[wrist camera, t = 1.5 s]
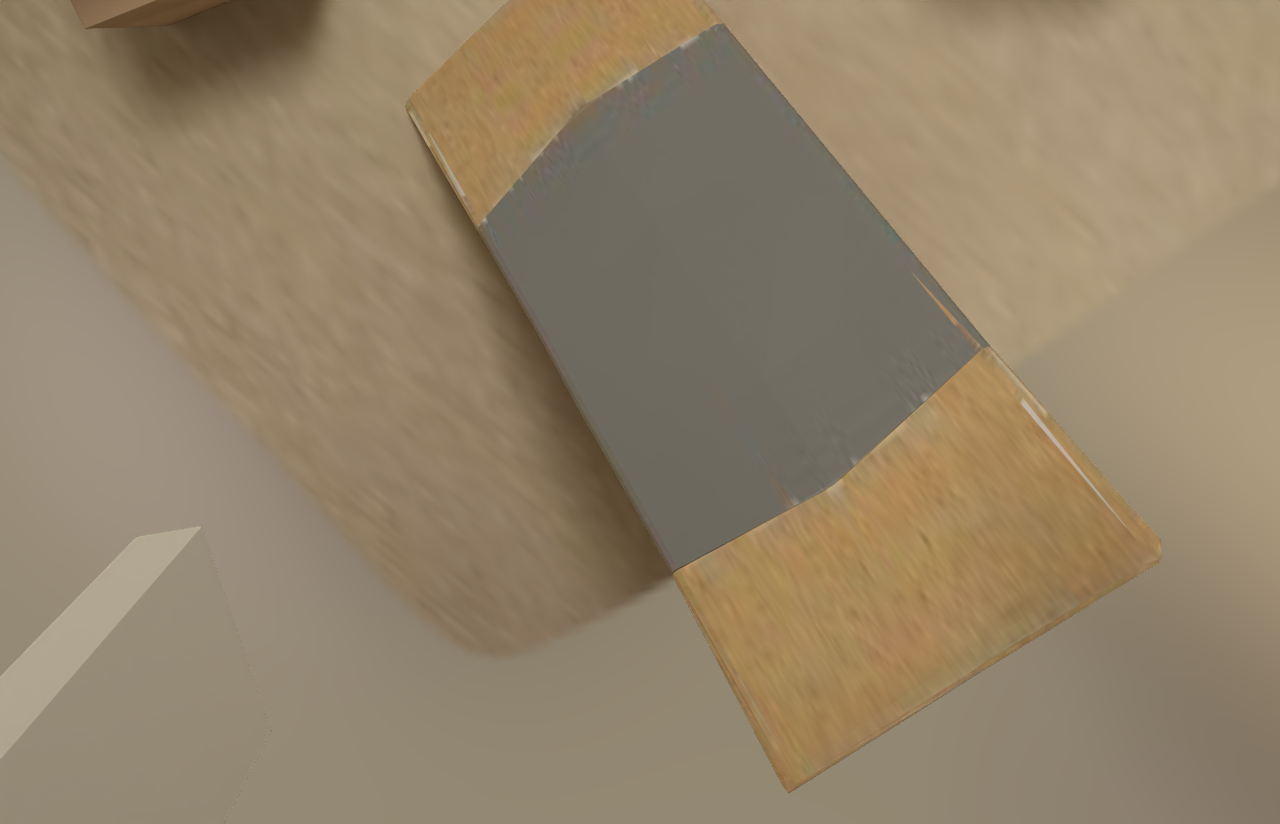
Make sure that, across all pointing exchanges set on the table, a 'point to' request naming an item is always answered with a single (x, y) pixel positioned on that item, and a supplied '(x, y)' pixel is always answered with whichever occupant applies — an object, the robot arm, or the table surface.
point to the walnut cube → (138, 11)
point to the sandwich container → (769, 371)
